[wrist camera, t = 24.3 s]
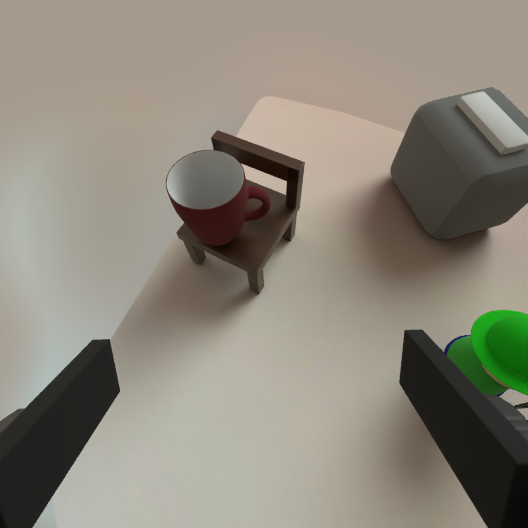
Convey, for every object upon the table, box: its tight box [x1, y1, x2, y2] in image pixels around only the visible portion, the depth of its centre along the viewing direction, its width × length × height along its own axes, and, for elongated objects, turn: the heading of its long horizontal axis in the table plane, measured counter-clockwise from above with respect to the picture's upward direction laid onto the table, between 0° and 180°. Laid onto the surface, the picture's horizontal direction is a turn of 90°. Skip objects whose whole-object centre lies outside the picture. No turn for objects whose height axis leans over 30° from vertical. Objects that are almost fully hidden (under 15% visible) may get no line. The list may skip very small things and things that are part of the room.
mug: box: [166, 150, 271, 246], centre depth 37 cm, size 10×8×10 cm
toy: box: [444, 310, 528, 409], centre depth 33 cm, size 9×9×15 cm
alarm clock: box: [391, 87, 528, 239], centre depth 46 cm, size 16×11×16 cm
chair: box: [177, 131, 305, 294], centre depth 43 cm, size 12×12×15 cm
